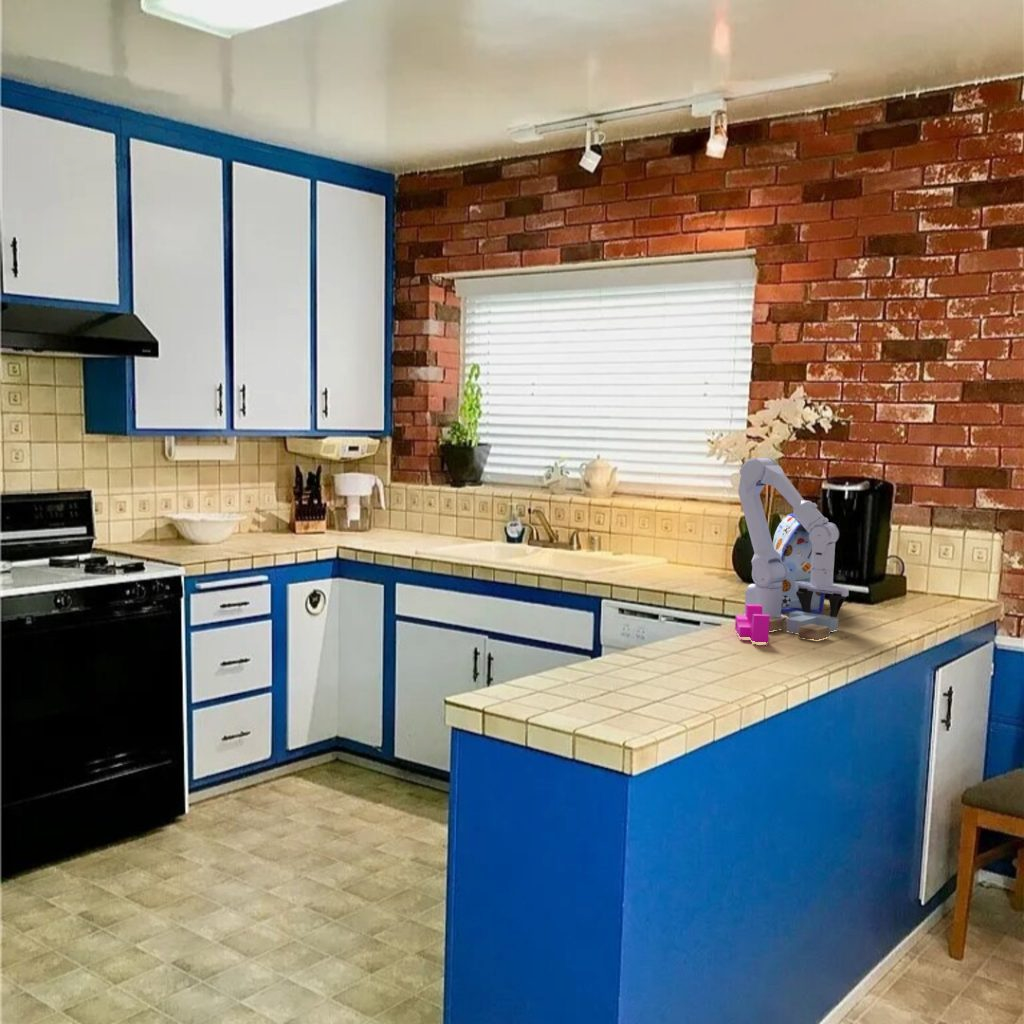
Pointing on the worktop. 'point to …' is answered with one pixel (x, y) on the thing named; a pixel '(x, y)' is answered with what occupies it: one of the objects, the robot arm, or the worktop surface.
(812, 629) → the walnut slot
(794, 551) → the lunch bag
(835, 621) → the T block
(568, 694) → the worktop surface
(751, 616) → the toy block
